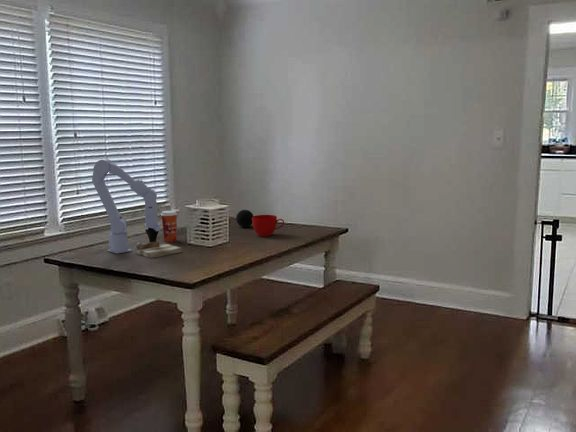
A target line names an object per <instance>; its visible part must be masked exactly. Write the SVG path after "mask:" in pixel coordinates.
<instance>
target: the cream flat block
mask: <svg viewBox="0 0 576 432" xmlns="http://www.w3.org/2000/svg"><path fill="white" fill-rule="evenodd" d="M159 245H160V246H156V247H150V248H144V249H136V248H135V250H134V251H135V254H137V255H140V256H144V257H147V258H149V259H153V258H158V257H163V256H169V255H173V254H179V253H182V247H180V246H179V247H178V246H176V245H172V244H168V243H161V244H159Z"/></svg>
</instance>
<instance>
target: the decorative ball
mask: <svg viewBox="0 0 576 432" xmlns="http://www.w3.org/2000/svg"><path fill="white" fill-rule="evenodd" d="M253 216H254V214H253V213H252V212H251V210H250V209H249V210H248V209H242V210H240V211H238V213H236V217H235V219H236V223H237V225H238V226H240V227H242V228H249V227H251V226H253V223H252V217H253Z"/></svg>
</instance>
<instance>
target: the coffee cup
mask: <svg viewBox="0 0 576 432" xmlns="http://www.w3.org/2000/svg"><path fill="white" fill-rule="evenodd" d="M160 216H161V224H162V233H163V240H164V242H165V243H170V242H171V243H172V242H176V241H177V233H178V232H177V231H178V230H177V227H178V225H177V224H178V223H177V222H178V221H177V220H178V217H177V216H178V213H177V211H176V210H163V211H161V213H160Z"/></svg>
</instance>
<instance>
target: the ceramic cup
mask: <svg viewBox="0 0 576 432" xmlns="http://www.w3.org/2000/svg"><path fill="white" fill-rule="evenodd" d="M280 221H282V224H281V225H280V226H278V227H276V226H277V224H278V222H280ZM284 224H285V220H284V219H282V218H278V219H277V215H274V214H258V215H253V217H252V227H253V229H254V232H255V233H256V234H257V236H259V237H271V236H272V235H273V233H274V232H275V230H280V229H281V228H282V227H283V226H284Z"/></svg>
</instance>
